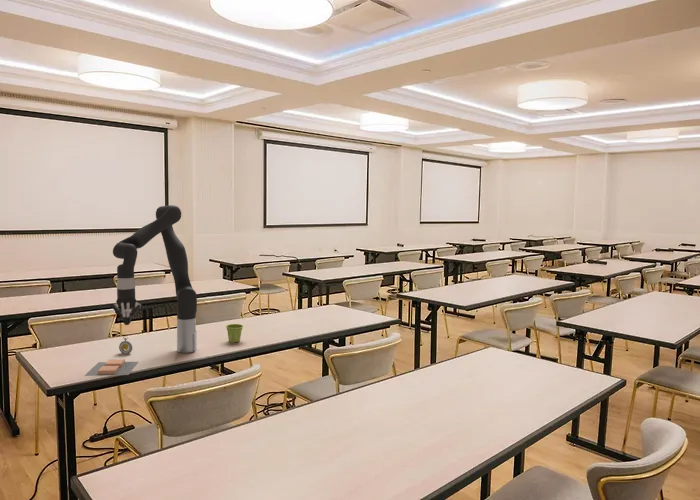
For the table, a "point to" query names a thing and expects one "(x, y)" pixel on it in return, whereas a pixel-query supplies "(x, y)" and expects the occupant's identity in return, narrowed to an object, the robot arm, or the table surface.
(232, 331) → the plant pot
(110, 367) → the tile near
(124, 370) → the slate board
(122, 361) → the tile far
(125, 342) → the pocket watch
